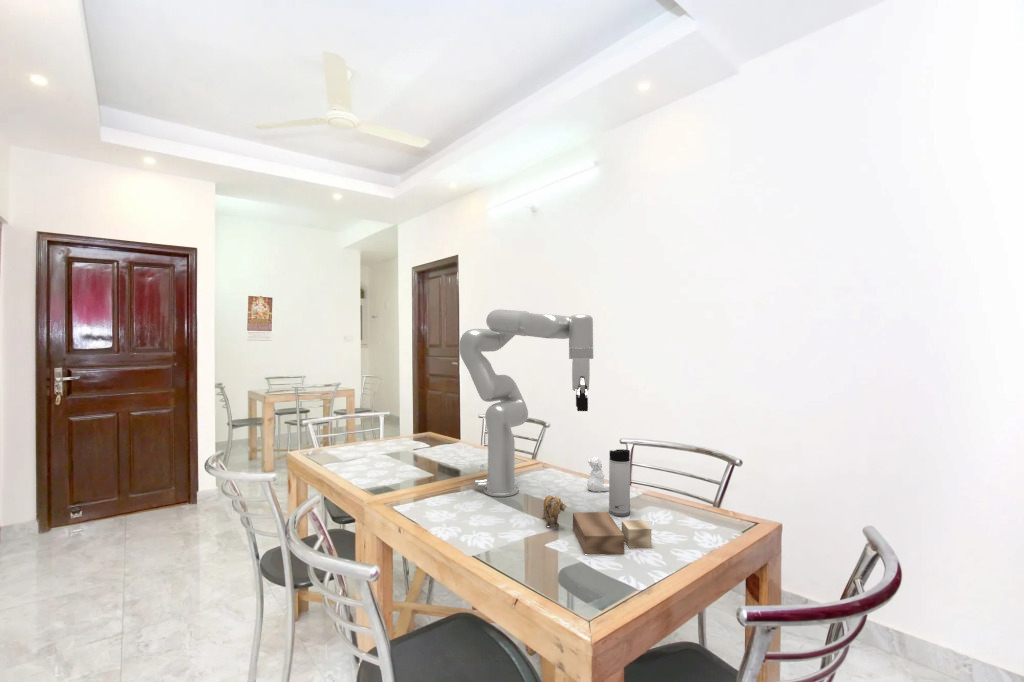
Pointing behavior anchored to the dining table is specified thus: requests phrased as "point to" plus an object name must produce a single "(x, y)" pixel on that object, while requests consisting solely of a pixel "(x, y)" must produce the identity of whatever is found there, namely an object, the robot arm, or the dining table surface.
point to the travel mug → (619, 482)
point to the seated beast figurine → (596, 476)
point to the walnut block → (598, 533)
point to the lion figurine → (552, 509)
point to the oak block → (636, 533)
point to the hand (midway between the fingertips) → (581, 408)
